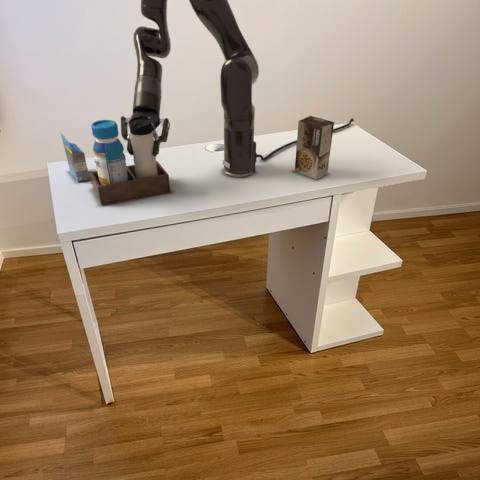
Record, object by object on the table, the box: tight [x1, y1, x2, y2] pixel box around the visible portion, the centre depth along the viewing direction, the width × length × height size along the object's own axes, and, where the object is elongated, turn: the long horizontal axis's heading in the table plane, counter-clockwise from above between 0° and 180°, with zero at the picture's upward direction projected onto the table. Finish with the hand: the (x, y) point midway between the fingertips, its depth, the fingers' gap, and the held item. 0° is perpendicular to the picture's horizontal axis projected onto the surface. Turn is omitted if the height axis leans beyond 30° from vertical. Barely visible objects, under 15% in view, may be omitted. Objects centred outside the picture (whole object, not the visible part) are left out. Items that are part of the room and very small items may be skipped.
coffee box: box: [294, 115, 335, 180], centre depth 143 cm, size 9×6×16 cm
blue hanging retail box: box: [60, 133, 90, 183], centre depth 140 cm, size 9×4×12 cm, turn 32°
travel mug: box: [128, 115, 158, 179], centre depth 131 cm, size 6×7×20 cm
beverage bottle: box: [91, 119, 128, 186], centre depth 128 cm, size 8×8×20 cm
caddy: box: [89, 160, 171, 206], centre depth 134 cm, size 20×11×6 cm, turn 115°
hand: (142, 154), depth 129 cm, fingers closed on travel mug, 6 cm apart
